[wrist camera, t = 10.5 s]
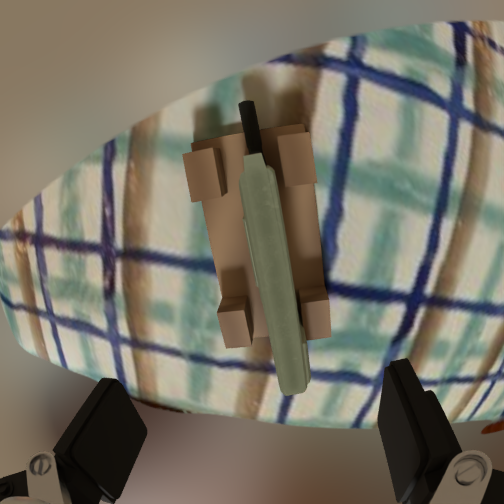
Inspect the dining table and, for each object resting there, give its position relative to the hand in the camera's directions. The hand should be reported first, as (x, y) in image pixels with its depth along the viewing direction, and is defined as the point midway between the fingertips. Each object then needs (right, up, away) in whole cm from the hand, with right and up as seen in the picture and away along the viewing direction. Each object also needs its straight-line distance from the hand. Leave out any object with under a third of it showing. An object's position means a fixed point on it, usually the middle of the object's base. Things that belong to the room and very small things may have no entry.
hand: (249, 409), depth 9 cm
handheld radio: (+2, +6, +18) cm, 20 cm away
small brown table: (+1, +6, +19) cm, 20 cm away
